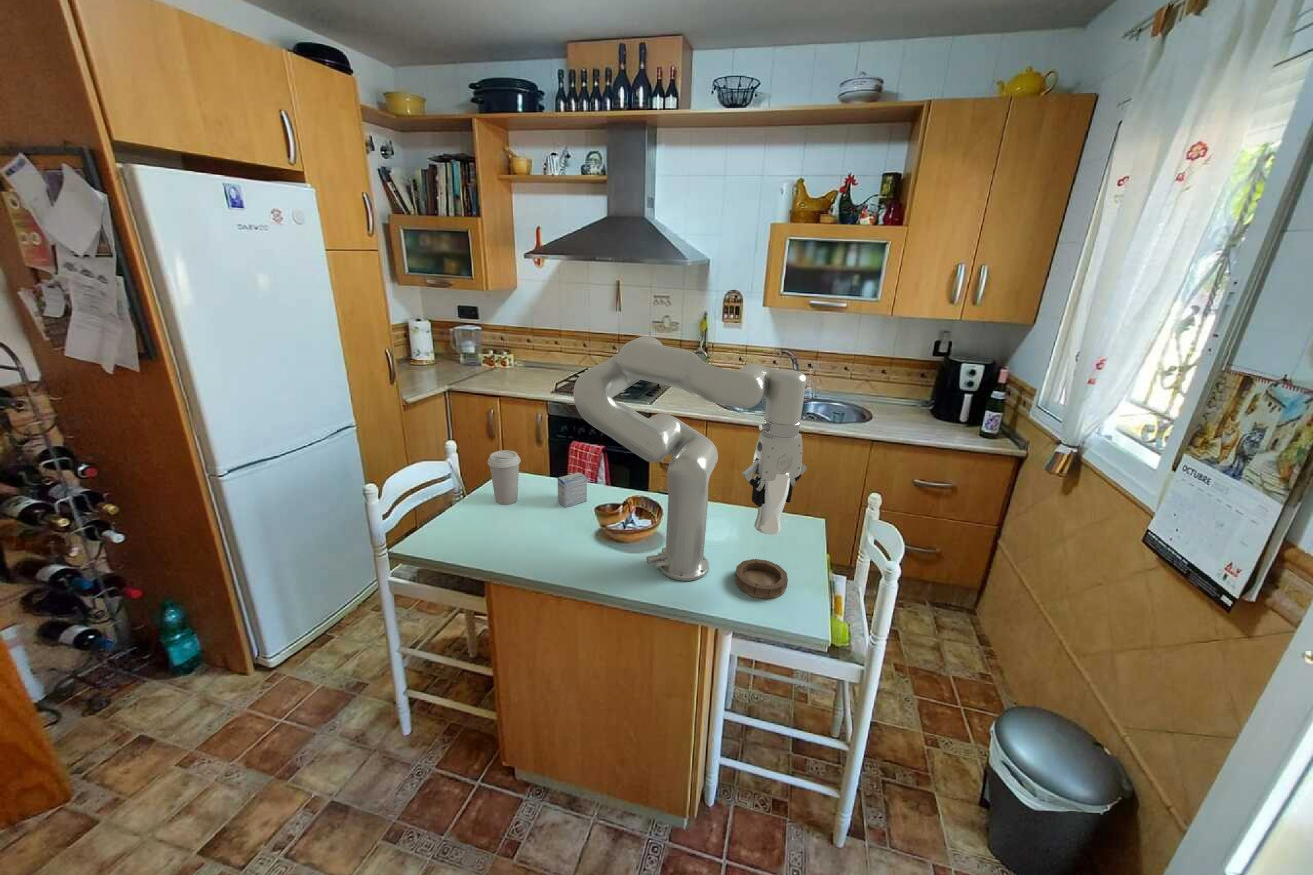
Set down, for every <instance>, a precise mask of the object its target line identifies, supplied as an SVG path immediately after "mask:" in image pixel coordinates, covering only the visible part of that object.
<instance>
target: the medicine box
mask: <svg viewBox="0 0 1313 875" xmlns="http://www.w3.org/2000/svg"><path fill="white" fill-rule="evenodd" d="M587 496H588V477H587V476H586V475H585V474H583V473H582V472H575V473H571V474H567V475H564V476H559V477H557V502H558V504H559V505H561V507H562V508H564V509H566V508H569V507H573V506H575V505H579V504H582V503H586V502H588V498H587Z"/></svg>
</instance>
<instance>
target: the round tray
mask: <svg viewBox="0 0 1313 875" xmlns="http://www.w3.org/2000/svg"><path fill="white" fill-rule="evenodd" d="M735 568H736V570H735V579H734V581H735V584H736V586H737V588H738V589H739V590H740V591H741V592H742V593H743V594H745V595H748V596H750V597H752V598H756V599H760V600H761V599H762V600H772V599H777V598H779V597H781V596H783V595H784V594H785V592H786V589H787V588H788V581H789V579H788V573H787V571H786V570H785V569H784V568H782V566H780V565H779V564H777V563H775V562H773V561H769V560H765V559H757V558H752V559H748V560H747V559H746V560H743V561H742V562H740V563H739V564H737V565H736V567H735Z"/></svg>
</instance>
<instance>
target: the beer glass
mask: <svg viewBox="0 0 1313 875" xmlns="http://www.w3.org/2000/svg"><path fill="white" fill-rule="evenodd" d="M760 480H761V479H759V481H760ZM759 481H758V483H759ZM789 486H790V478H789V473H785V474H776V478H775V480H774V481H766V482H765V484H764V486H763V488H762V490H763V491H764V494H763V502H762V506H761V507H758V506H757V515H756V519H755V521H754V525H753V527H754V529H755V530H756V531H758V532H759V533H762V534H765V535H777V534H779V533H781V531H782V514H783V510H784V507H785V505H786V503H787V502H786V499H787V496H788V492H789Z"/></svg>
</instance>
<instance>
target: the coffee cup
mask: <svg viewBox="0 0 1313 875" xmlns="http://www.w3.org/2000/svg"><path fill="white" fill-rule="evenodd" d="M521 462H522V461H521V457H520V456H519V455H518V452H516V451H515V450H505V449H503V450H498V451H495V452H492V453H490V454H489V457H488V459H487V465H488V466H489V469H490V476H491V482H492V487H493V492H494V493H493V494H494V498H495V499H494V500H495V503H496V504H498V505H500V506H508V505H513V504H515V503H516V502H518V496H519V495H518V493H519V492H518V491H519V471H520V470H519V469H520V463H521Z"/></svg>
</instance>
